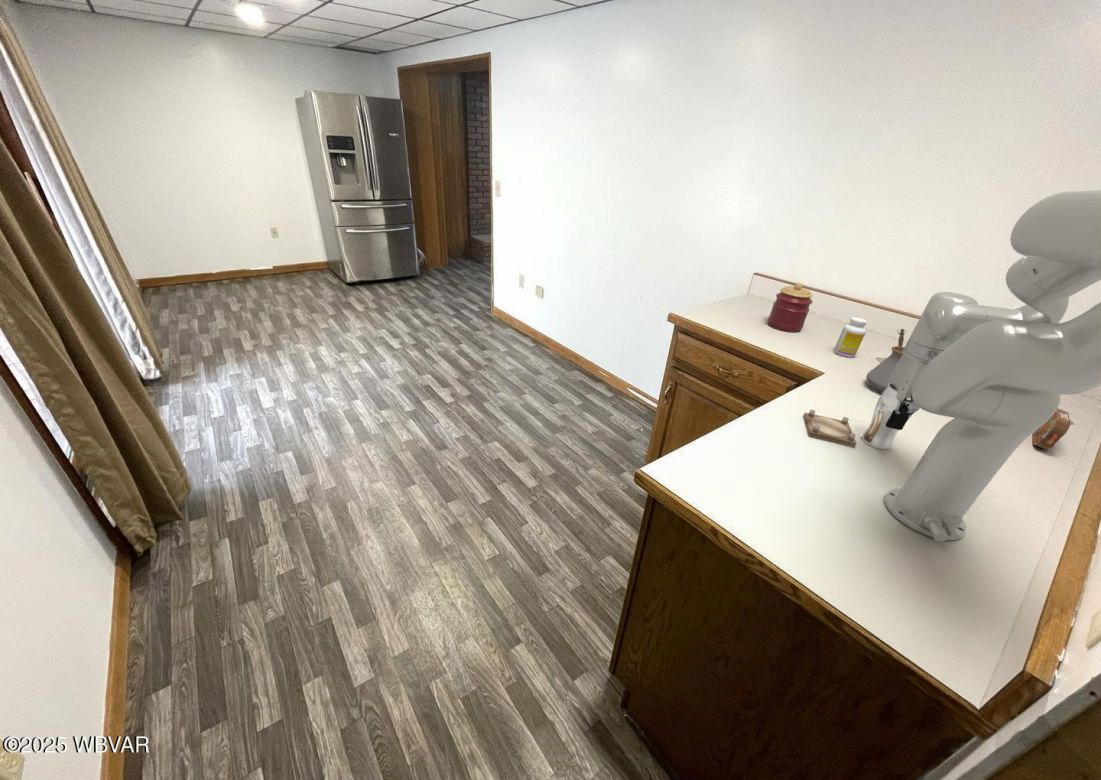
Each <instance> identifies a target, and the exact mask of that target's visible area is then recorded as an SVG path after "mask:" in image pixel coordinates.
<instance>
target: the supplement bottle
mask: <svg viewBox="0 0 1101 780" xmlns="http://www.w3.org/2000/svg"><path fill="white" fill-rule="evenodd" d="M867 323H868V321H867V320H866V319H864V318H862V317H861V318H860V317H855V316H852V317H851V318H850V320H849V324H845V325H844V326H843V329H842V330H841V332H840V335H839V337H838V339H837V341H836V344H835V346H834V349H833V352H834V353H835V354H837V355H838V356H841V357H845V358H854V357H855V356H856V355H857V353H858V351H859V348H860V346H861V344H862V341H863V339H864V337H865V336H866V334H867V330H866V328H865V326H866V325H867Z"/></svg>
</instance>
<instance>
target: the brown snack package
mask: <svg viewBox="0 0 1101 780" xmlns="http://www.w3.org/2000/svg"><path fill="white" fill-rule="evenodd" d="M1070 426H1071V419H1070V414H1069V412H1068V411H1066V410H1063V409H1061V408H1059V407H1058V408H1057V410H1056V412H1055V413H1054V415H1053V416H1052V417H1051V418H1050V419H1049V420H1048V421H1047V422H1046V423H1045V424H1043V425H1042V426H1041V427H1040V428H1039V429H1037V430H1036V431H1035V432H1033V433H1032V434H1031V435H1032V437H1031V438H1032V439H1031V440H1032V445H1033V446H1036V447H1038V448H1041V449H1045V450H1050V449H1052V448H1053V447H1054V446H1055V445H1056V443H1057V442H1058V441H1059V440H1061V438H1063V437H1064V436H1065V435H1066V434H1067V432H1068V431H1069V428H1070Z"/></svg>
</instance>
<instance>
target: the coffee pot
mask: <svg viewBox="0 0 1101 780" xmlns="http://www.w3.org/2000/svg"><path fill="white" fill-rule="evenodd" d="M898 331H900V332H898ZM896 333H897V334H898V335H899V337H898V342H897V343H898V345H896V346H892V347H891V354H890V355H888V356H887V357H886V358H885V359H884V360H882V361H881V362H880V363H879V364H877V365H876V366H875V367H874V368H873V369H871V370H870V371H869V372H868V373H867V374H866V380H867V382H868V383H867V384H868V385H869V386H870V388H871V389H872V390H874V391H876V392H878V393H881V394H882V393H883V391H884V390H885V388H886V387H887V385H888V380H889V378H890V375H891V374H892V372H893V370H894V368H895V366H896V365H897V363H898V361H899V360H900V358H901V357H902V355H903V352H902V351H903V349H904V348H905V346H904V347H903V344H904V340H905V337H904V335H905V334H906V333H907V331H906V330H905V329H904V328H901V329H897V331H896Z"/></svg>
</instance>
